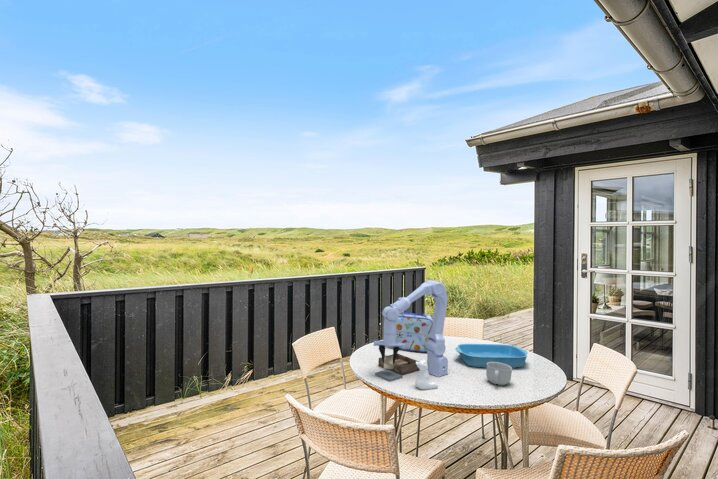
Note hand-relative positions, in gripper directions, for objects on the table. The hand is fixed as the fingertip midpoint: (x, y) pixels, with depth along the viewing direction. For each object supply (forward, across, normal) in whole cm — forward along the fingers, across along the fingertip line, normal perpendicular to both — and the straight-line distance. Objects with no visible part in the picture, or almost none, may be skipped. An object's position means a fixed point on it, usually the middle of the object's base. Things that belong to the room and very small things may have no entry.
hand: (388, 362), depth 172 cm
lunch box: (+7, -7, -45) cm, 46 cm away
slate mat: (+6, 0, 0) cm, 6 cm away
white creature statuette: (+7, -17, +8) cm, 20 cm away
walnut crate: (+6, -3, -13) cm, 15 cm away
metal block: (+3, 0, 0) cm, 3 cm away
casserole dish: (+7, -49, -35) cm, 61 cm away
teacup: (+7, -48, -6) cm, 49 cm away
